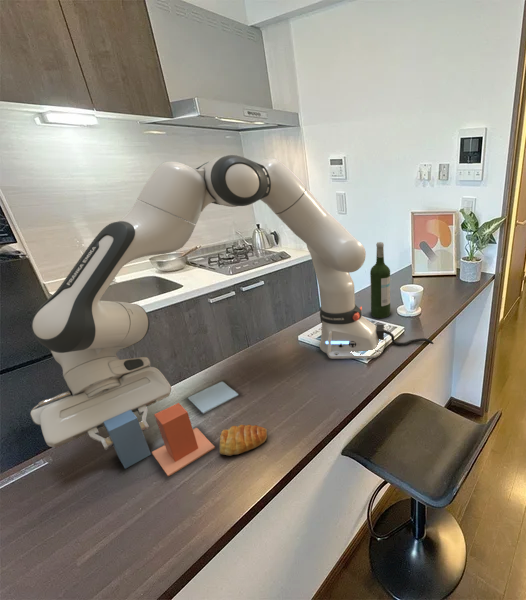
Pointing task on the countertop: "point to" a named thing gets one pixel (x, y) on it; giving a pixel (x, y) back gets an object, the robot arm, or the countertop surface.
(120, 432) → the blue block
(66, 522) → the countertop surface
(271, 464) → the countertop surface
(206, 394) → the blue mat
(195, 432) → the terracotta mat
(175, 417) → the terracotta block
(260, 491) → the countertop surface
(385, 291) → the wine bottle
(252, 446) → the pastry
